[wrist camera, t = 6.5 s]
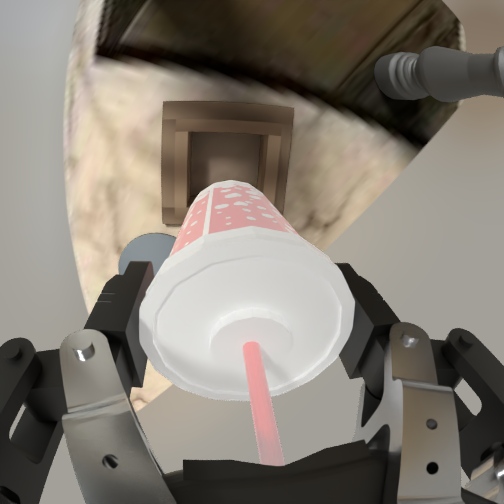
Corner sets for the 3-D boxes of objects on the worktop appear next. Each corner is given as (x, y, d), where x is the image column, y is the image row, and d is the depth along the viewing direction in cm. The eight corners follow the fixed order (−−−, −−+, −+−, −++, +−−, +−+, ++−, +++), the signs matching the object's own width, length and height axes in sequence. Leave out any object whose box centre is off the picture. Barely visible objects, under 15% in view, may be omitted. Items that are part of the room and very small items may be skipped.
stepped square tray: (164, 101, 27) (156, 99, 23) (292, 108, 29) (304, 107, 25) (163, 221, 33) (156, 236, 29) (279, 223, 35) (288, 239, 31)
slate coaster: (114, 232, 33) (113, 234, 32) (200, 233, 34) (200, 235, 34) (126, 304, 37) (125, 306, 37) (201, 306, 39) (201, 309, 38)
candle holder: (419, 85, 28) (586, 109, 6) (392, 108, 29) (573, 146, 7) (394, 47, 25) (565, 34, 3) (365, 69, 27) (552, 59, 5)
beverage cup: (201, 283, 17) (208, 540, 5) (155, 193, 14) (22, 482, 2) (298, 247, 17) (421, 484, 4) (265, 148, 14) (514, 376, 2)
